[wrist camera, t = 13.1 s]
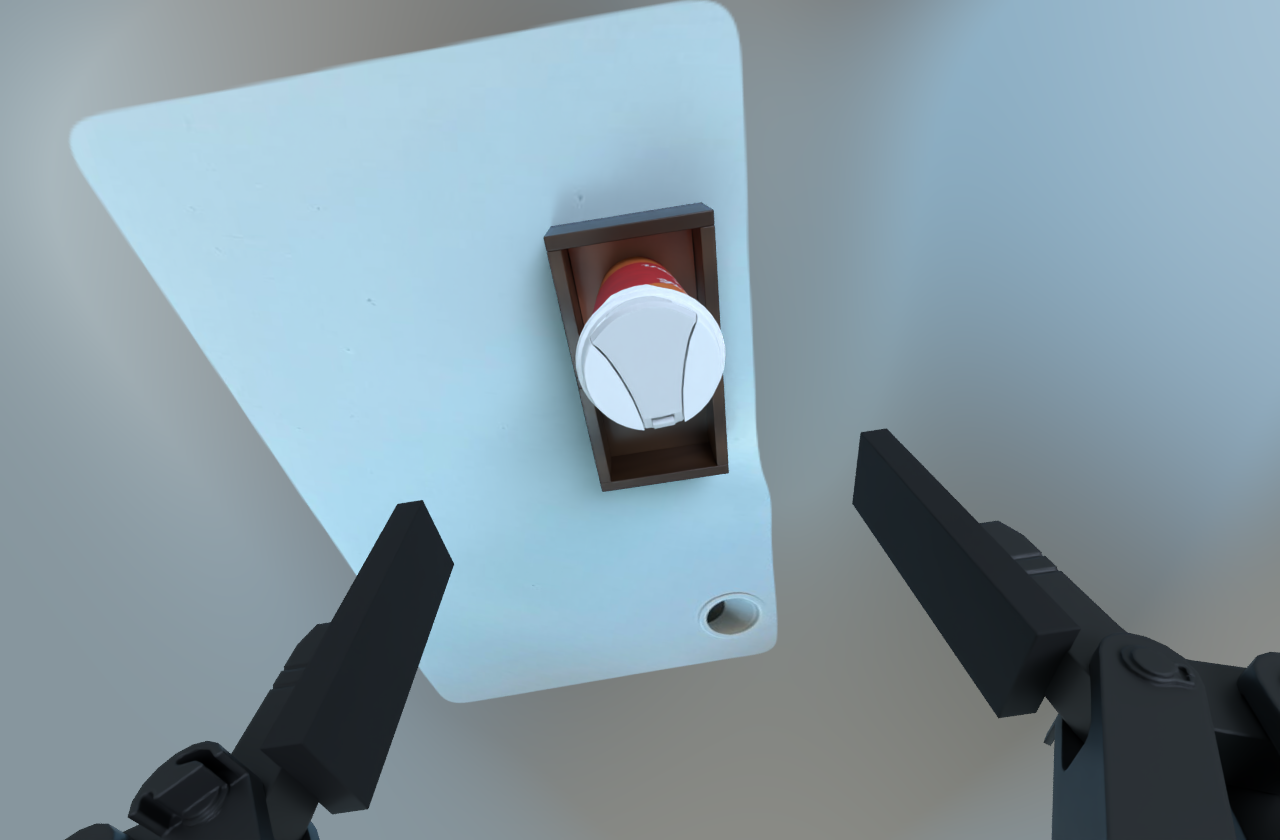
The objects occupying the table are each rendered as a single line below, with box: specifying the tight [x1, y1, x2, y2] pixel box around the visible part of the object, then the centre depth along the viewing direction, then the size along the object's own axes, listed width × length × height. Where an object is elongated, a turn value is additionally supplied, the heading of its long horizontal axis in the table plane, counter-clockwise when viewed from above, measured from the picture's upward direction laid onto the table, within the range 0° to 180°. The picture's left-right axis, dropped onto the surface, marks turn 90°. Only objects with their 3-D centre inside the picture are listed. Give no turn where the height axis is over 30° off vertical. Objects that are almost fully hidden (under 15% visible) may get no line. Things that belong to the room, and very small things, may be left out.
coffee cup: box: [576, 256, 725, 430], centre depth 31 cm, size 8×8×15 cm
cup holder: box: [544, 202, 729, 492], centre depth 39 cm, size 22×12×5 cm, turn 8°
